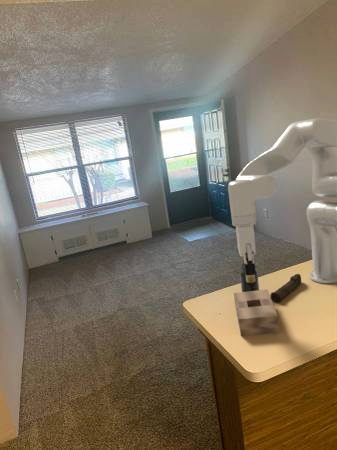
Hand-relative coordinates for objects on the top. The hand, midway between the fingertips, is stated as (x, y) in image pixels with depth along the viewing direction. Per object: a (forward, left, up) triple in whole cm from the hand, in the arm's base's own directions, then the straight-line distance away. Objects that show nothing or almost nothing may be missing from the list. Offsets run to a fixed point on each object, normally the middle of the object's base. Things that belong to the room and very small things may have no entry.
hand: (249, 272), depth 109 cm
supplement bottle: (-1, -20, -18) cm, 27 cm away
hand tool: (-15, -17, -18) cm, 29 cm away
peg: (0, 0, -3) cm, 3 cm away
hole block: (0, 0, -18) cm, 18 cm away
